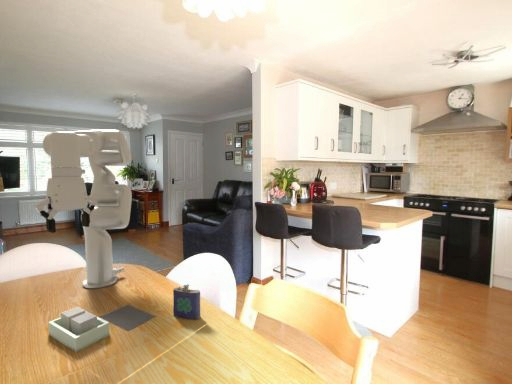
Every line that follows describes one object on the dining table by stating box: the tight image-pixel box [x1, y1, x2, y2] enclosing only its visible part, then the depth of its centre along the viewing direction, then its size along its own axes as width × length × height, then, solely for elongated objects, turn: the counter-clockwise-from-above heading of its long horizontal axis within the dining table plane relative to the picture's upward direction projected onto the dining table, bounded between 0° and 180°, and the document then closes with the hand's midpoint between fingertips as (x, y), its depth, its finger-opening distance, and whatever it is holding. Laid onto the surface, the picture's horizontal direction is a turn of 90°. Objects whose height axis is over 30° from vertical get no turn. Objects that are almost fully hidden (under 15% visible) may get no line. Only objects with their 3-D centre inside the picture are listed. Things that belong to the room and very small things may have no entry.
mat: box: [99, 304, 158, 332], centre depth 92 cm, size 10×15×1 cm, turn 58°
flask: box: [172, 283, 202, 321], centre depth 92 cm, size 9×3×11 cm, turn 74°
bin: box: [47, 310, 111, 353], centre depth 82 cm, size 9×15×4 cm, turn 58°
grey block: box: [71, 311, 98, 336], centre depth 80 cm, size 4×4×6 cm
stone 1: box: [60, 306, 86, 333], centre depth 83 cm, size 4×4×6 cm
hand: (69, 229), depth 90 cm, fingers open, 9 cm apart
